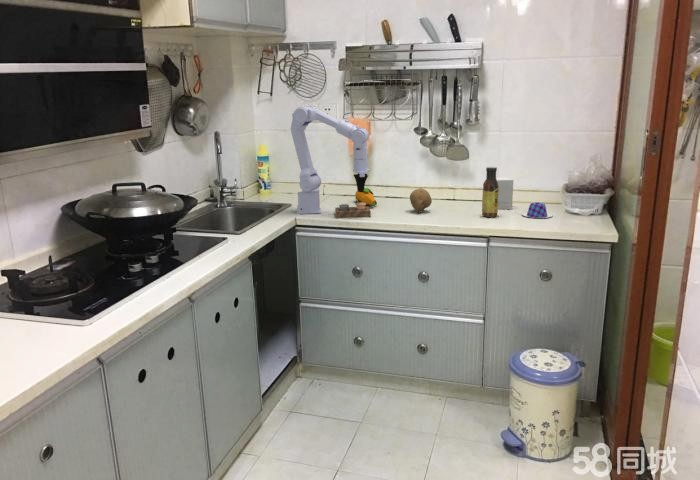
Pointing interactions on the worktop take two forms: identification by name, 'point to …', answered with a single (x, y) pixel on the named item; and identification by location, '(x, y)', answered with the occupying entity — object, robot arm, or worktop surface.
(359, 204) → the terracotta plug
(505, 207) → the supplement box
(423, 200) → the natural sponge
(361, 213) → the socket board
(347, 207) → the grey plug
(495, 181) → the sauce bottle
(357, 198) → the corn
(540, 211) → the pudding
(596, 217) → the worktop surface
